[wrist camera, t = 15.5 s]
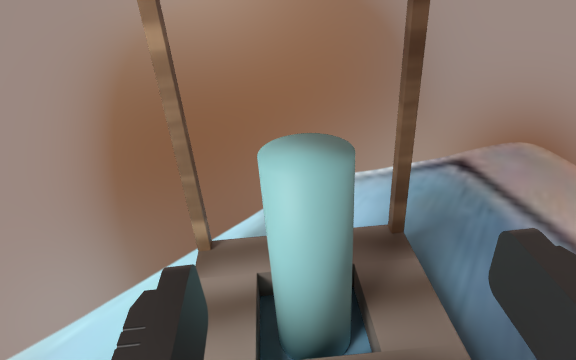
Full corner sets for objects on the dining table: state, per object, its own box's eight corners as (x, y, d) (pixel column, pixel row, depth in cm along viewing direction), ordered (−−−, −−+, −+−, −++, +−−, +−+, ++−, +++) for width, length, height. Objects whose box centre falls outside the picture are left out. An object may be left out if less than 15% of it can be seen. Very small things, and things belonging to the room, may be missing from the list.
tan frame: (492, 446, 20) (838, -371, 6) (166, 481, 19) (-235, -308, 6) (395, 244, 34) (435, -139, 20) (206, 262, 33) (116, -117, 20)
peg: (363, 323, 27) (372, 143, 20) (326, 380, 23) (321, 186, 16) (304, 295, 29) (294, 127, 22) (264, 341, 26) (237, 161, 19)
